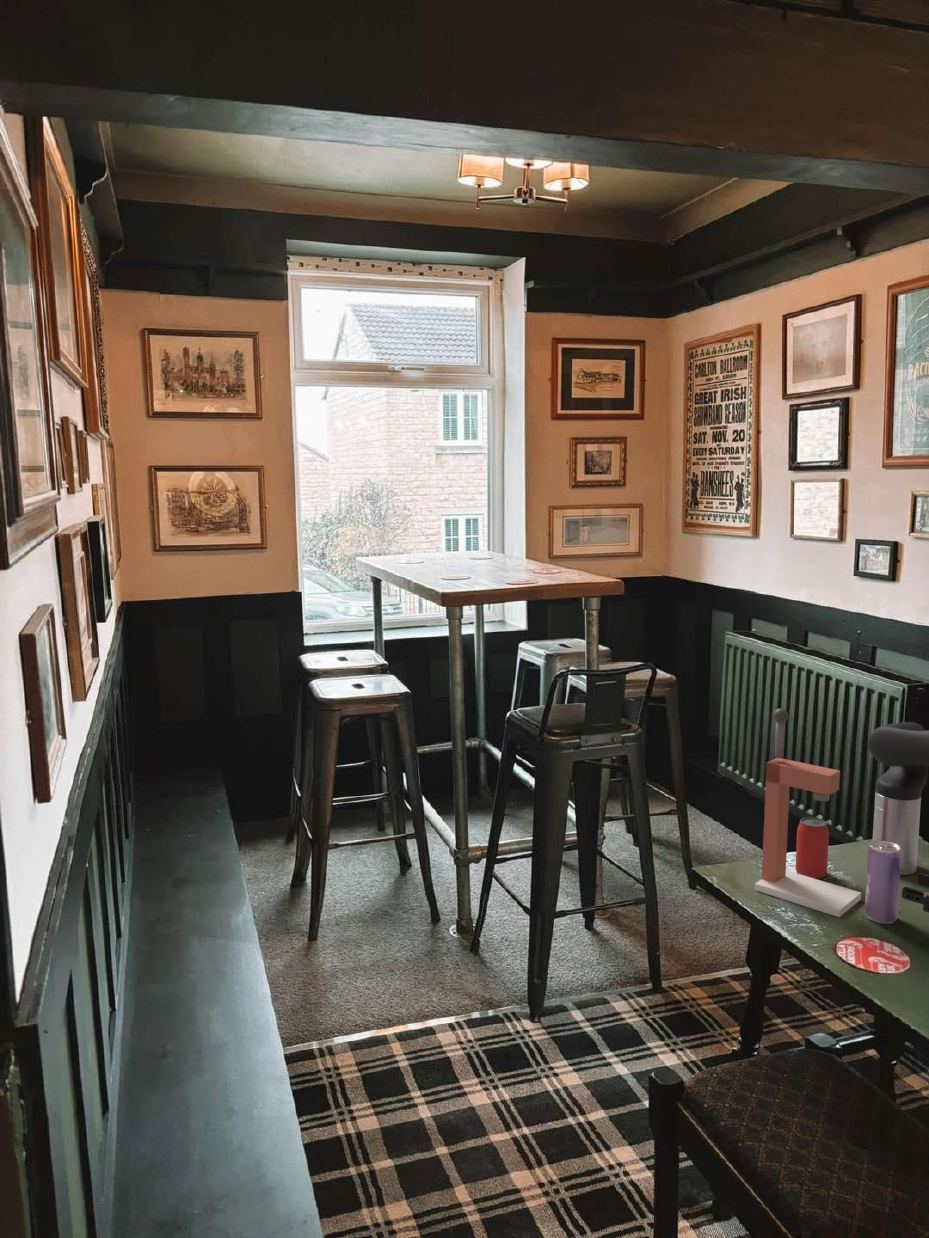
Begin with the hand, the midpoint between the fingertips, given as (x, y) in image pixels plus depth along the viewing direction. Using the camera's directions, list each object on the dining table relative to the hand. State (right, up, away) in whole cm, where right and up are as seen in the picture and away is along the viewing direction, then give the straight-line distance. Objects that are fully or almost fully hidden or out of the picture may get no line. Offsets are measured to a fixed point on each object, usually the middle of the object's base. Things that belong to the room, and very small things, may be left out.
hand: (910, 884), depth 176 cm
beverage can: (-4, -8, +5) cm, 10 cm away
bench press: (-14, -6, +15) cm, 22 cm away
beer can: (-10, -5, +26) cm, 28 cm away
